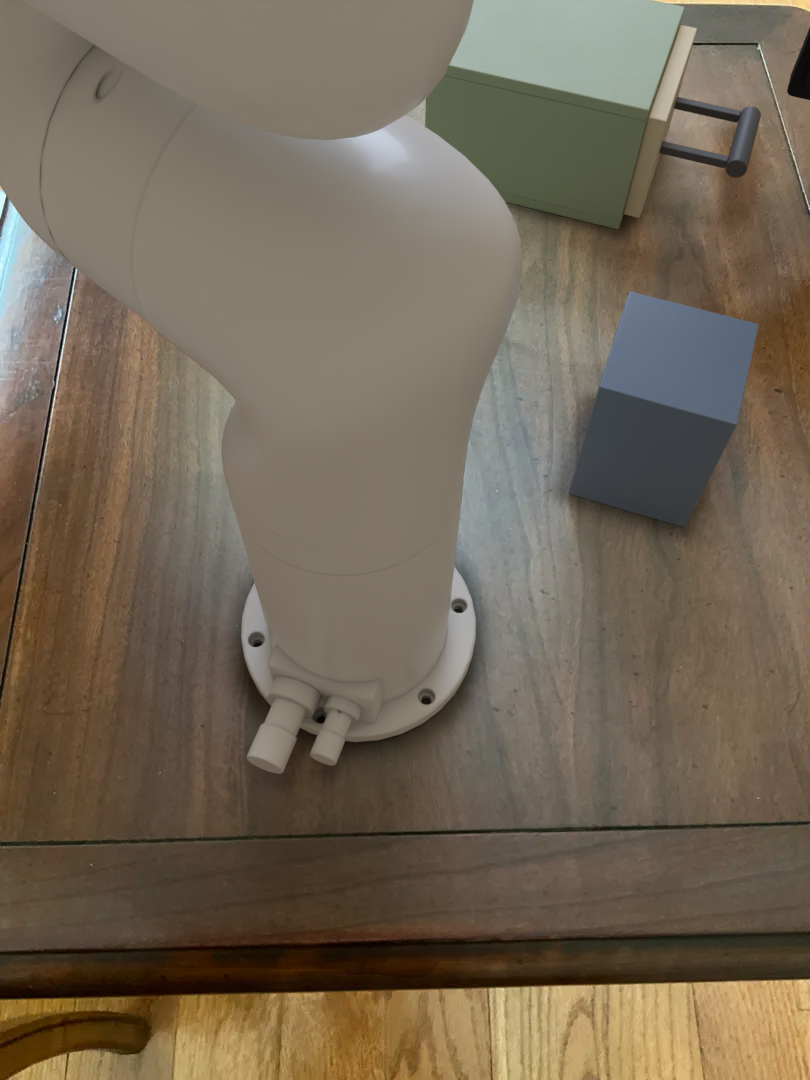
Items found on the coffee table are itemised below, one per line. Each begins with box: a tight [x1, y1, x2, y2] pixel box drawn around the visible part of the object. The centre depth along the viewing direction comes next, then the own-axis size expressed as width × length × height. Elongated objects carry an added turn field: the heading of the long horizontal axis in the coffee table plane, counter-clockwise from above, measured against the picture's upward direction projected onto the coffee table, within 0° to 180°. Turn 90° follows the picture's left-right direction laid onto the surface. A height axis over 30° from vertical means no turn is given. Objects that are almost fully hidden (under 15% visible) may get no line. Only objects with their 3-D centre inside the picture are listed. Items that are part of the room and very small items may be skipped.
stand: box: [568, 290, 760, 528], centre depth 54 cm, size 7×7×10 cm
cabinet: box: [424, 0, 686, 230], centre depth 68 cm, size 15×12×10 cm
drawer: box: [623, 24, 762, 219], centre depth 67 cm, size 19×10×8 cm, turn 71°
